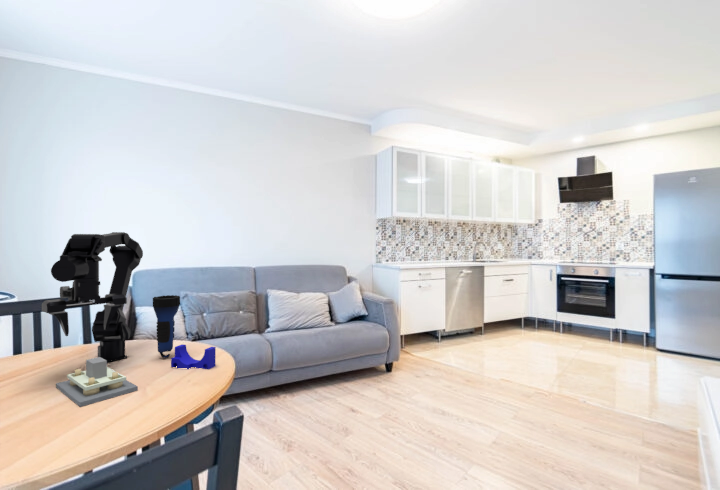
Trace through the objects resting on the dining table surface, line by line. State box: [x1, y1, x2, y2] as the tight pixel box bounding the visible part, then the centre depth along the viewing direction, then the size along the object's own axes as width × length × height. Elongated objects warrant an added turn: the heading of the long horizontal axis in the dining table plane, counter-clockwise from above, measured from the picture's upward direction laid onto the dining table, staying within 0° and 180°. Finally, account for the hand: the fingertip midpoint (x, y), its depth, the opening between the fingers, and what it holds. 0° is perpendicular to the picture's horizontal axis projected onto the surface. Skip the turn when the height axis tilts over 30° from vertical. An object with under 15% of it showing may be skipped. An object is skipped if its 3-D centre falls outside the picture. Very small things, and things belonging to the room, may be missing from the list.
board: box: [66, 356, 127, 391], centre depth 93 cm, size 9×14×5 cm, turn 53°
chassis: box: [55, 368, 139, 408], centre depth 93 cm, size 12×19×4 cm, turn 53°
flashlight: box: [152, 294, 181, 359], centre depth 119 cm, size 8×8×20 cm
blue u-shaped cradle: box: [170, 344, 216, 370], centre depth 110 cm, size 12×4×6 cm, turn 76°
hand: (86, 332), depth 104 cm, fingers open, 9 cm apart
